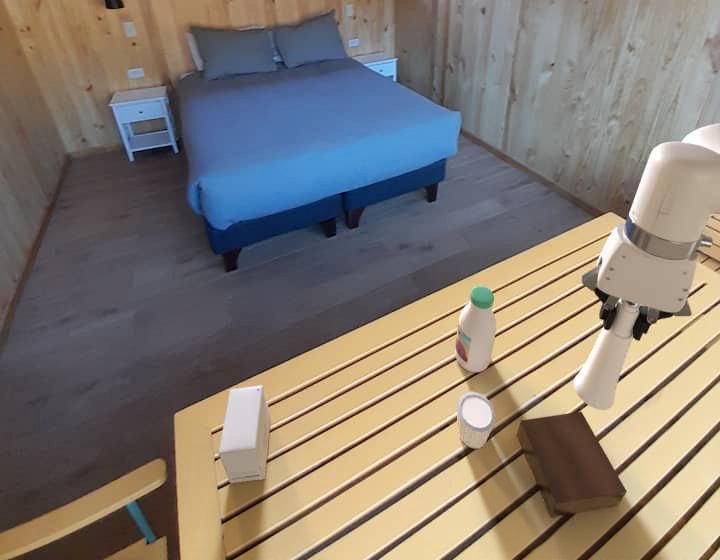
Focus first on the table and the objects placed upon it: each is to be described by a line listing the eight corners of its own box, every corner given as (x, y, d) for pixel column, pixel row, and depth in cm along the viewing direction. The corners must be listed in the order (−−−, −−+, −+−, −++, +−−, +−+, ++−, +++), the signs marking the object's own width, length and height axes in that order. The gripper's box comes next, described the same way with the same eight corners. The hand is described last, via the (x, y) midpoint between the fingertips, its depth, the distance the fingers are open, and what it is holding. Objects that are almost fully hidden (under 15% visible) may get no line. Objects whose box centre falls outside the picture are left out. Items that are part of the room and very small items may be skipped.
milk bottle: (489, 345, 92) (501, 283, 83) (489, 377, 86) (503, 314, 76) (455, 337, 94) (463, 275, 85) (453, 368, 87) (461, 305, 78)
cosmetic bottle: (618, 415, 64) (662, 324, 54) (577, 404, 66) (613, 314, 56) (608, 378, 70) (647, 289, 60) (570, 369, 71) (602, 281, 61)
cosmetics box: (238, 419, 79) (229, 387, 74) (271, 415, 80) (264, 384, 75) (227, 484, 70) (216, 453, 65) (264, 480, 70) (256, 448, 66)
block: (575, 426, 77) (581, 411, 75) (618, 506, 66) (627, 491, 64) (516, 435, 76) (520, 420, 74) (550, 517, 65) (556, 503, 63)
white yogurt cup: (446, 431, 77) (449, 410, 73) (466, 404, 81) (469, 383, 78) (478, 461, 72) (483, 441, 69) (497, 431, 77) (502, 410, 73)
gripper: (730, 233, 52) (681, 327, 60) (587, 201, 58) (561, 290, 67) (750, 274, 46) (692, 373, 54) (588, 233, 52) (559, 326, 61)
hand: (620, 326), depth 60 cm, fingers closed on cosmetic bottle, 3 cm apart
